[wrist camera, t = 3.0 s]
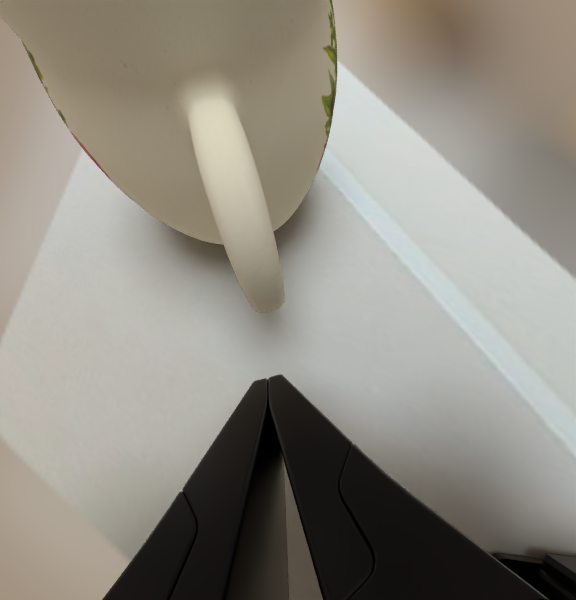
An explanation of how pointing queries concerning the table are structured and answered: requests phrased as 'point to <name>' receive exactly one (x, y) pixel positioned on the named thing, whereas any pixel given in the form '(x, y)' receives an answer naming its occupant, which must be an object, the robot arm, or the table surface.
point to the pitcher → (195, 109)
